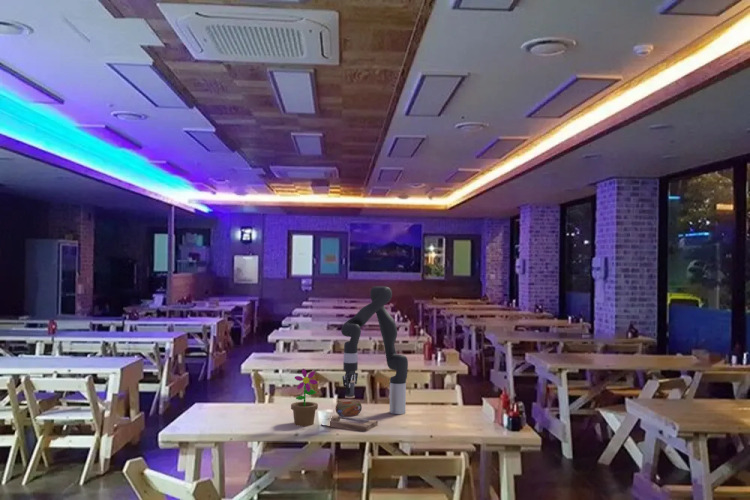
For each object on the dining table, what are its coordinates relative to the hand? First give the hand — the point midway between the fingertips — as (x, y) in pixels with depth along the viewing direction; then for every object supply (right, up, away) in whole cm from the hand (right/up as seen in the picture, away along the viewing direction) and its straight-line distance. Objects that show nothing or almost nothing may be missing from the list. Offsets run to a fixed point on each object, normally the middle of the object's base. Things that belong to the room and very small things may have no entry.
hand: (350, 393), depth 347 cm
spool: (0, -2, 0) cm, 2 cm away
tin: (-2, -17, +22) cm, 28 cm away
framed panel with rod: (0, -17, 0) cm, 17 cm away
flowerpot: (-24, -17, +2) cm, 30 cm away
